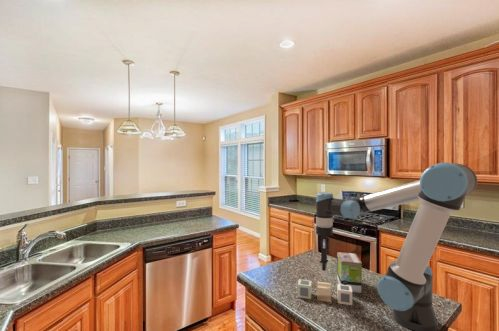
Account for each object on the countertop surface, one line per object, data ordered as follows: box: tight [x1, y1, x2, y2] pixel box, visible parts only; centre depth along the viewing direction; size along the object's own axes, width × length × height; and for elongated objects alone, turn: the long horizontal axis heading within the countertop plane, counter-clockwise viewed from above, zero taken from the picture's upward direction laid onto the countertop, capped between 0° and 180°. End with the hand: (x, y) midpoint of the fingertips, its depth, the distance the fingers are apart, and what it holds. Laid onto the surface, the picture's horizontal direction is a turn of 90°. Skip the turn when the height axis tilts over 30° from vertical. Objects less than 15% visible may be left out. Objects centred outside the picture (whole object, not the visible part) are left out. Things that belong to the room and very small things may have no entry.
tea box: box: [336, 251, 363, 294], centre depth 131 cm, size 15×10×15 cm, turn 168°
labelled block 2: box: [336, 283, 353, 306], centre depth 115 cm, size 6×6×6 cm
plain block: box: [316, 281, 332, 303], centre depth 118 cm, size 6×6×6 cm
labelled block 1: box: [297, 278, 313, 300], centre depth 120 cm, size 6×6×6 cm
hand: (323, 276), depth 118 cm, fingers closed
